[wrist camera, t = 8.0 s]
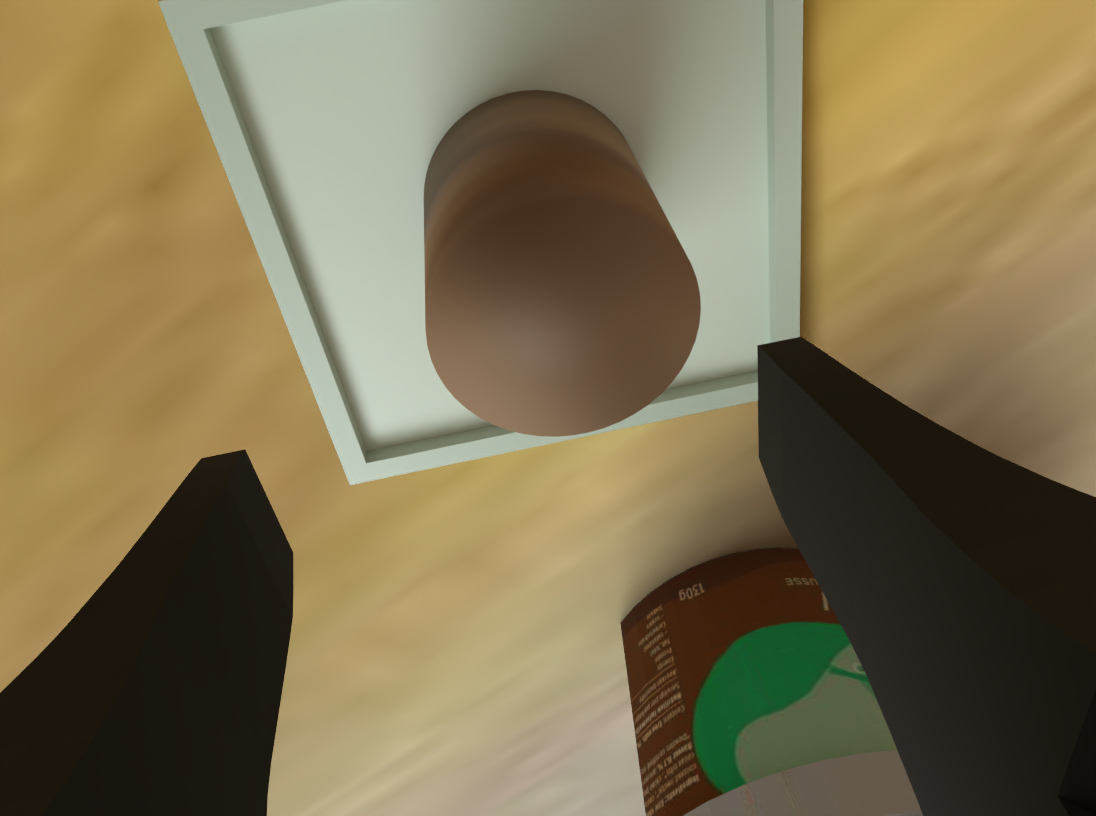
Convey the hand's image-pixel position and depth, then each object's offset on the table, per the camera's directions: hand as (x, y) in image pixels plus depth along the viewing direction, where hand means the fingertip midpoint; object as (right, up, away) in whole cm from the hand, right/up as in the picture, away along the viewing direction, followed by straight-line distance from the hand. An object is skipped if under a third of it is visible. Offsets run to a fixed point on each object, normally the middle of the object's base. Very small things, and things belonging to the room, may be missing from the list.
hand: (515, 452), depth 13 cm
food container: (+8, -5, +17) cm, 20 cm away
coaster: (0, +5, +8) cm, 10 cm away
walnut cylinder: (0, +5, +7) cm, 9 cm away
